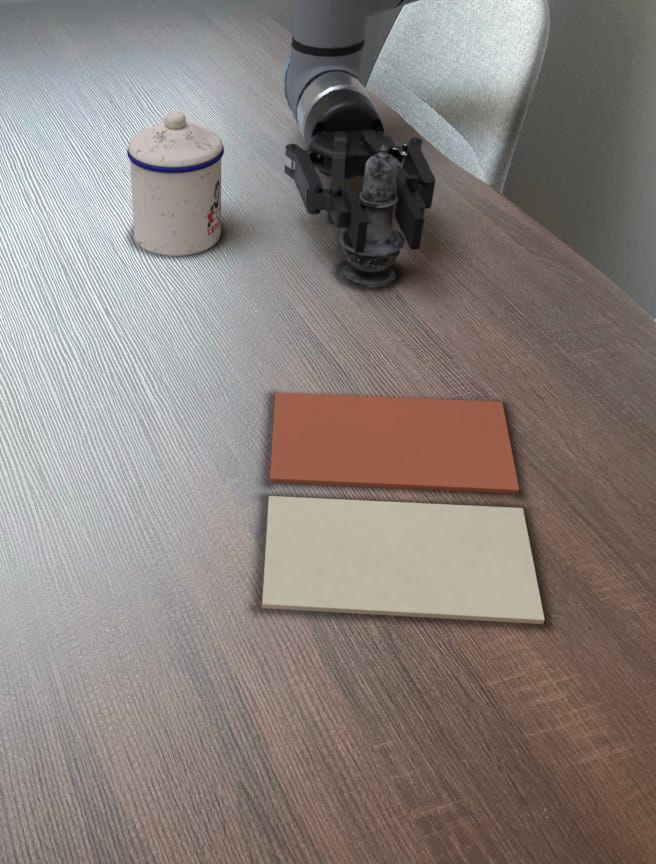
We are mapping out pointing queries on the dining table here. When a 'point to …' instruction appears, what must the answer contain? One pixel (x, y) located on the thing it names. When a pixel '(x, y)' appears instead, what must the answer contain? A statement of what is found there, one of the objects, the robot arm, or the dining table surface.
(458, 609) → the cream mat
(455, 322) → the dining table surface
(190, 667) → the dining table surface
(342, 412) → the terracotta mat
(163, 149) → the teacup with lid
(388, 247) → the dark grey chess piece
